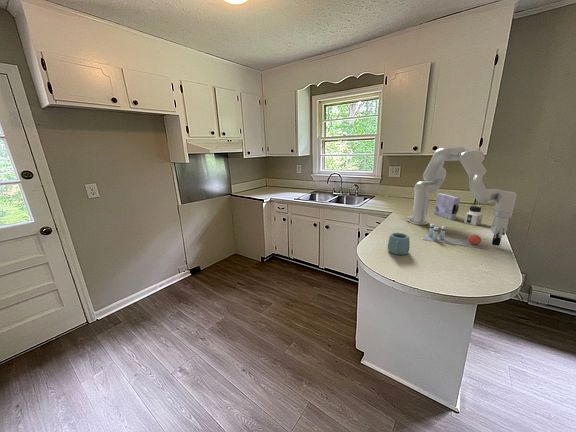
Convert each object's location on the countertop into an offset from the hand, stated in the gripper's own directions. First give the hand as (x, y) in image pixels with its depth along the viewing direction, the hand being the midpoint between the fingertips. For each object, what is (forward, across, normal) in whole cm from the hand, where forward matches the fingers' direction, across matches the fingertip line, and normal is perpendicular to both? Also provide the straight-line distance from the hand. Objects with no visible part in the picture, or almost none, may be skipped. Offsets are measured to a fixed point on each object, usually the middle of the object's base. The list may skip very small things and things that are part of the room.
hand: (495, 244), depth 137 cm
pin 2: (+2, +3, -30) cm, 30 cm away
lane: (+2, 0, -21) cm, 21 cm away
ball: (-1, 0, -10) cm, 10 cm away
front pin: (+2, 0, -26) cm, 26 cm away
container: (+2, -47, -5) cm, 47 cm away
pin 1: (+2, -3, -32) cm, 32 cm away
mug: (+2, +33, -48) cm, 58 cm away
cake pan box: (+2, -58, -22) cm, 62 cm away
